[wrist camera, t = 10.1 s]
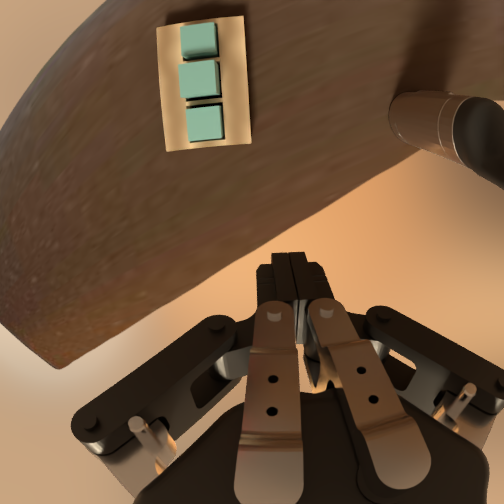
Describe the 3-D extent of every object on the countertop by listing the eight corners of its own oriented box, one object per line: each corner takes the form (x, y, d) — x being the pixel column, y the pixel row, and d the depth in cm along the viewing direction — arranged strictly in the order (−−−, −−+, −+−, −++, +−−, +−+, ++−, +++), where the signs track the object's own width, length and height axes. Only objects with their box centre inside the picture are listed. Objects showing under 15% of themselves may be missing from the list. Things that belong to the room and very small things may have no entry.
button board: (243, 23, 33) (243, 16, 29) (250, 140, 42) (251, 143, 38) (162, 33, 33) (155, 28, 30) (172, 147, 42) (165, 151, 39)
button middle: (218, 65, 34) (214, 59, 29) (220, 94, 36) (216, 93, 31) (187, 69, 34) (178, 64, 29) (189, 98, 36) (180, 97, 31)
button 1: (218, 32, 33) (213, 22, 28) (219, 58, 35) (215, 51, 30) (188, 36, 33) (179, 26, 28) (189, 61, 36) (181, 55, 30)
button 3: (222, 105, 39) (219, 105, 34) (224, 133, 41) (221, 138, 36) (193, 108, 39) (185, 109, 34) (196, 136, 41) (188, 141, 36)
